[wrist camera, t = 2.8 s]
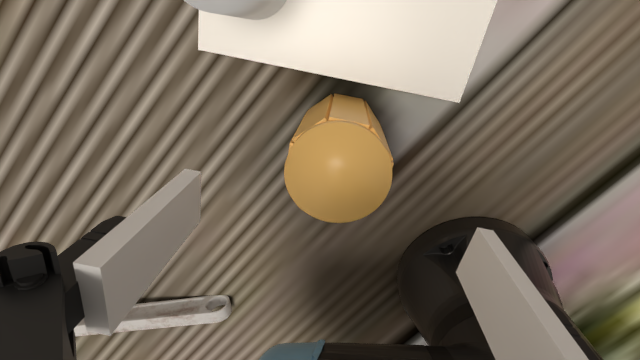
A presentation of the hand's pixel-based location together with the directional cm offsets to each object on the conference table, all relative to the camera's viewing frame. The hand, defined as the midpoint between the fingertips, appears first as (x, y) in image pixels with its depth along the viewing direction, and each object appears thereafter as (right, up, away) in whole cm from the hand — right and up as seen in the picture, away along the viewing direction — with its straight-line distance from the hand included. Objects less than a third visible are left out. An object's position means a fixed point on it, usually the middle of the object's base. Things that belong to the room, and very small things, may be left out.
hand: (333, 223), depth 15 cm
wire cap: (+1, +6, +15) cm, 16 cm away
